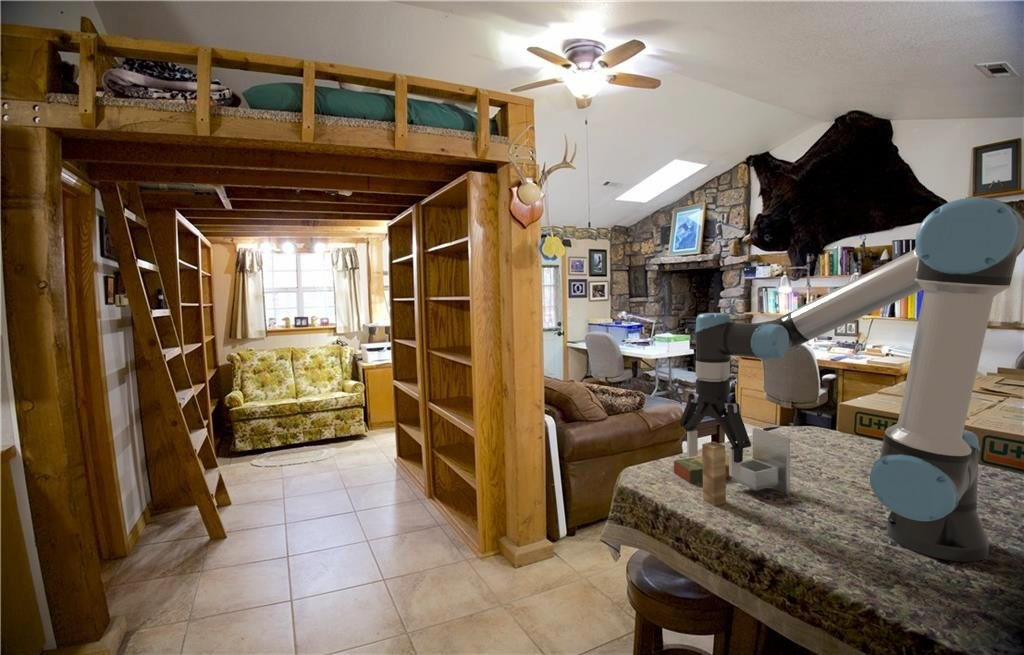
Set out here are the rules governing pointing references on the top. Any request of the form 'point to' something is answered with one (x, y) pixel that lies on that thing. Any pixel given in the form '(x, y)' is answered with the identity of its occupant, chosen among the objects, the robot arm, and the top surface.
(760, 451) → the bracket
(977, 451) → the robot arm
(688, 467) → the carton
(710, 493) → the block
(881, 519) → the top surface
